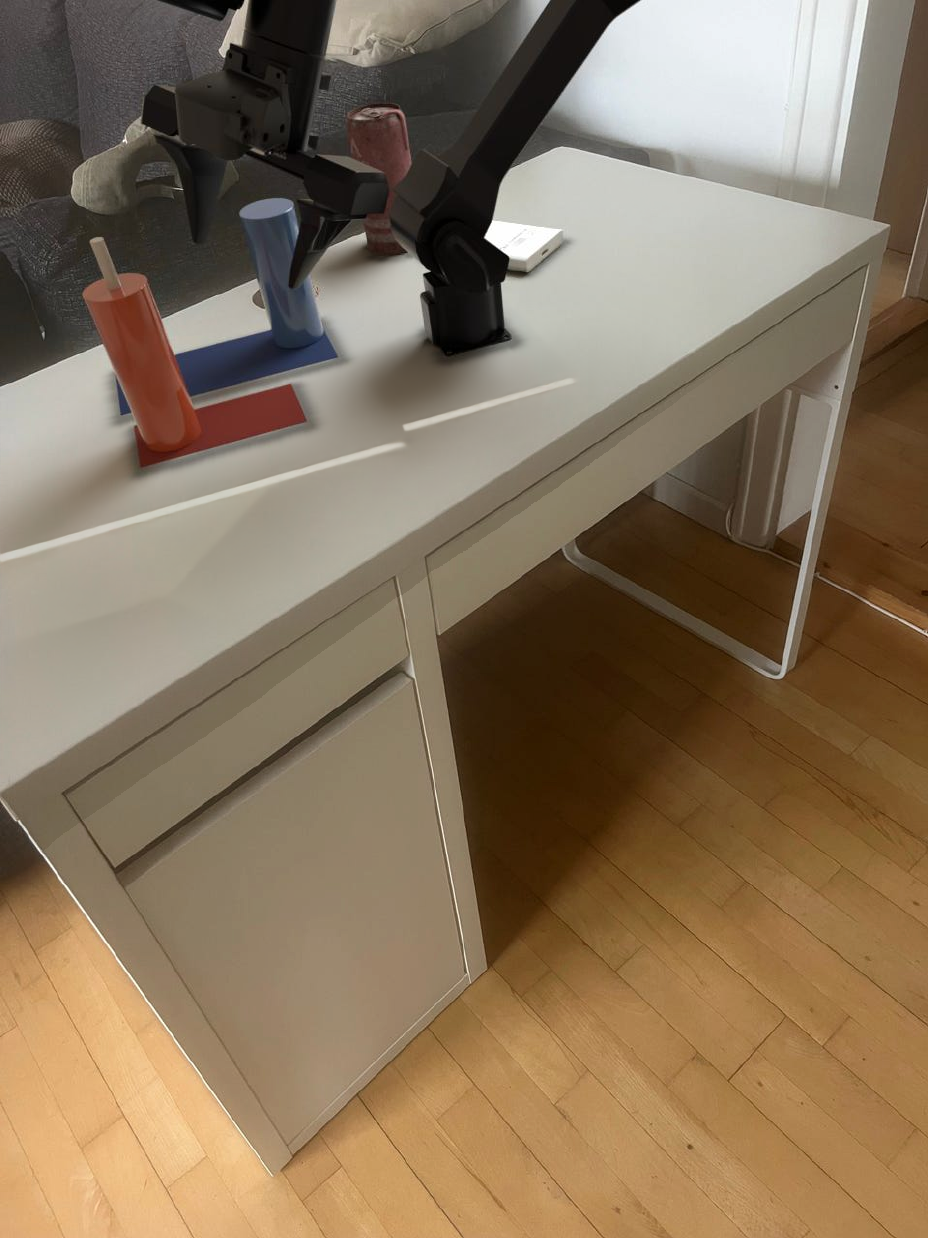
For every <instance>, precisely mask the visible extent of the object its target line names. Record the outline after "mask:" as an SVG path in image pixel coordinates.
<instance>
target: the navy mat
mask: <svg viewBox="0 0 928 1238" xmlns="http://www.w3.org/2000/svg"><path fill="white" fill-rule="evenodd" d="M175 357H176V360H177V363H178V365H179V368H180V371H181V374H182V376H183V379H184V382H185V385H186V387H187V390H188V393H189V396H190V398H192V397H195V396H199V395H203V394H206V393H210V392H213V391H217V390H221V389H225V388H229V387H232V386H236V385H240V384H243V383H248V382H251V381H255V380H258V379H263V378H266V377H270V376H273V375H278V374H281V373H285V372H289V371H293V370H297V369H299V368H300V369H301V368H304V367H307V366H312V365H313V364H318V363H323V362H326V361H329V360H333V359H338V358H339V355H338V353H337V351H336V349H335V348H334V347H333V344H332V343H331V341H330V339H329V337H328V335H327V333H326V331H325V330H324V328H323V335H322V337H321V338H320V339H319V340H318V341H316V342H315V343H313V344H310V345H308V346H305V347H300V348H282V347H280V346H278V345H276V344H275V342H274V338H273V335H272V331H271V329H269V330H265V331H261V332H257V333H254V334H249V335H245V336H242V337H237V338H234V339H230V340H226V341H223V342H218V343H215V344H211V345H207V346H203V347H200V348H195V349H191V350H188V351H184V352H180V353H176V354H175ZM115 378H116V380H115V381H116V389H117V395H118V403H119V404H118V405H119V411H120V416H124V415H127V414H132V412H131V410H130V407H129V405H128V403H127V400H126V398H125V396H124V393H123V391H122V388H121V386H120V384H119V381H118V379H117V377H116V376H115Z"/></svg>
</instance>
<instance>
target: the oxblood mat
mask: <svg viewBox="0 0 928 1238" xmlns="http://www.w3.org/2000/svg"><path fill="white" fill-rule="evenodd" d="M194 409H195V412H196V415H197V418H198V420H199V423H200V426H201V433H200V435H199V437H198V438H197V439H196V440H195V441H194V442H192V443H191V444H189V445H187V446H186V447H183V448H181V449H178V450H174V451H169V452H156V451H152V450H150V449H148V448H147V447H146V445H145V443H144V441H143V438H142V436H141V434H140V431H139V429H138V426H137V424H135V425H134V427H133V428H134V434H135V440H136V448H137V453H138V460H139V467H140V468H145V467H148V466H152V465H156V464H159V463H163V462H167V461H171V460H175V459H177V458H180V457H185V456H189V455H191V454H196V453H199V452H202V451H206V450H209V449H214V448H217V447H221V446H224V445H228V444H231V443H235V442H238V441H239V442H240V441H242V440H246V439H249V438H252V437H257V436H261V435H263V434H267V433H270V432H275V431H278V430H282V429H286V428H288V427H292V426H297V425H300V424H303V423H307V422H308V421H307V418H306V415H305V413H304V411H303V408H302V406H301V403H300V401H299V399H298V397H297V395H296V392H295V389H294V387H293V385H292V383H287V384H284V385H281V386H276V387H273V388H269V389H266V390H262V391H258V392H254V393H251V394H247V395H244V396H240V397H236V398H231V399H229V400H225V401H224V400H223V401H221V402H217V403H214V404H210V405H206V406H202V407H199V408H194Z"/></svg>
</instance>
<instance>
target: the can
mask: <svg viewBox="0 0 928 1238" xmlns="http://www.w3.org/2000/svg"><path fill="white" fill-rule="evenodd" d="M346 116H347V118H346V121H345V129H346V134H347V135H346V136H347V140H348V146H349V150H350V158H352V159H354V160H357V161H359V162H361V163H364V164H366V165H368V166H371V167H373V168H375V169H378V170H380V171H382V172H385V174H386V178H387V181H388V186H389V191H390V192H389V196H388V200H387V204H386V208H385V212H384V214H368V215H367V218H366V219H362V222H363V227H364V233H365V238H366V243H367V249H368V251H370V252H371V253H372V254H373V255H377V256H383V257H385V256H387V257H389V256H396V255H397V256H398V255H403V254H406V253H408V252H407V251H406V250H405V249H404V248H403V247H402V246H401V245H400V244H399V243H398V242H397V241H396V240H395V238H394V235H393V233H392V231H391V224H390V217H389V212H390V207H391V205H392V203H393V201H394V199H395V197H396V196H397V195H396V194H395V193H394V192H393V191H392V188H393V187H394V186H395V185H397V184H398V183H399V182H401V180H402V179H403V178H404V177H405V176H406V174H407V172H408V170H409V168H410V166H411V164H412V157H411V150H410V144H409V135H408V129H407V120H406V116H405V113H404V112H403V110H402V109H401V106H400V105H399V104H397V103H394V102H393V103H392V102H376V103H369V104H365V105H362V106H361V105H360V106H359V107H356V108H354V109H351V110H350V111H348V113H347V115H346Z"/></svg>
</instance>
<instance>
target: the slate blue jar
mask: <svg viewBox="0 0 928 1238" xmlns="http://www.w3.org/2000/svg"><path fill="white" fill-rule="evenodd" d="M238 213H239V215H238V216H239V218H240V219H239V220H240V222H241V226H242V229H243V233H244V237H245V241H246V244H247V247H248V251H249V256H250V258H251V262H252V266H253V270H254V273H255V277H256V280H257V284H258V288H259V291H260V294H261V295H260V296H261V298H262V302H263V306H264V309H265V313H266V316H267V317H266V318H267V320H268V323H269V324H268V325H269V327H270V330H271V331H272V335H273V338H274V342H275V344H276V345H278V346H280V347H282V348H300V347H305V346H308V345H310V344H313V343H315V342H316V341H318V340H319V339H320V338H321V337H322V335H323V329H324V327H323V323H322V319H321V314H320V311H319V305H318V302H317V297H316V293H315V289H314V284H313V280H312V276H311V273H310V274H309V275H308V276H307V278H306V279H305V281H304V282H303V283H302V285H301V286H300V287H299V288H298V289H291V288H289V287H288V283H289V273H290V267H291V262H292V258H293V254H294V249H295V245H296V241H297V236H298V232H299V228H300V224H299V221H298V216H297V212H296V207H295V203H294V202H293V200H290V199H288V198H284V197H273V198H265V199H260V200H257V201H254V202H251V203H250V204H247V205H245V206H244V207H242V208H241V209H240V211H239V212H238Z"/></svg>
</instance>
